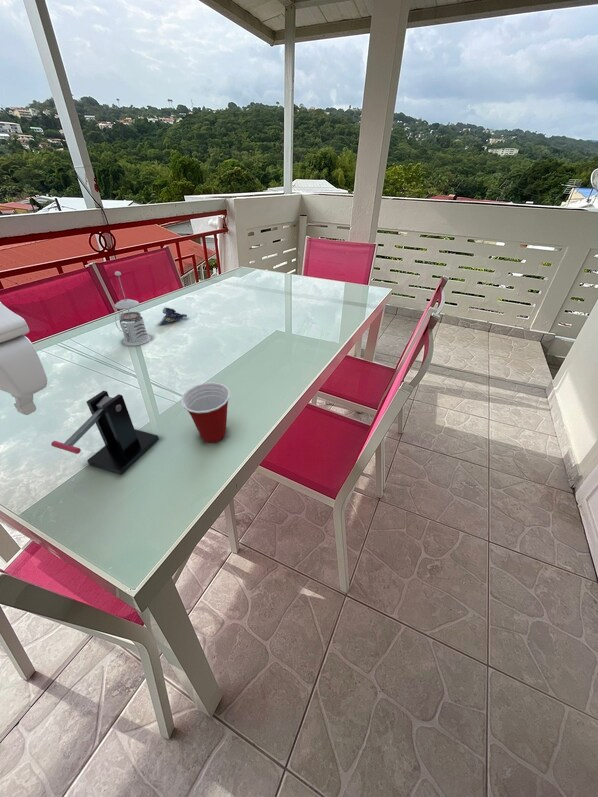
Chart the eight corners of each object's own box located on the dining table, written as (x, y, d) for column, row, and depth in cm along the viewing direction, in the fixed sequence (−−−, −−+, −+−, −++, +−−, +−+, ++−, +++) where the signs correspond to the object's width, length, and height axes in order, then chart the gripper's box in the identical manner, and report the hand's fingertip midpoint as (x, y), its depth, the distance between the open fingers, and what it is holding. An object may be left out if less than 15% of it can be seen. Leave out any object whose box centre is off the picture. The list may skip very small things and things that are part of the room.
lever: (79, 457, 61) (72, 449, 59) (55, 449, 62) (47, 441, 61) (125, 407, 69) (120, 399, 67) (103, 401, 71) (97, 393, 69)
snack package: (154, 318, 143) (159, 327, 134) (153, 304, 140) (158, 311, 131) (183, 318, 149) (189, 327, 140) (183, 304, 146) (189, 312, 137)
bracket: (121, 474, 70) (97, 420, 61) (88, 464, 72) (61, 410, 64) (159, 439, 79) (143, 387, 71) (128, 430, 81) (109, 379, 73)
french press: (156, 336, 128) (139, 268, 113) (137, 349, 118) (115, 277, 104) (134, 333, 130) (114, 266, 115) (113, 345, 120) (89, 275, 106)
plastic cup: (180, 441, 78) (169, 400, 72) (210, 417, 86) (203, 377, 80) (216, 457, 74) (208, 414, 68) (244, 429, 82) (239, 389, 75)
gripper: (-116, 312, 44) (-56, 398, 52) (-22, 340, 37) (30, 434, 45) (-58, 299, 49) (-11, 379, 56) (34, 322, 42) (72, 409, 50)
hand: (8, 404), depth 51 cm, fingers open, 8 cm apart
